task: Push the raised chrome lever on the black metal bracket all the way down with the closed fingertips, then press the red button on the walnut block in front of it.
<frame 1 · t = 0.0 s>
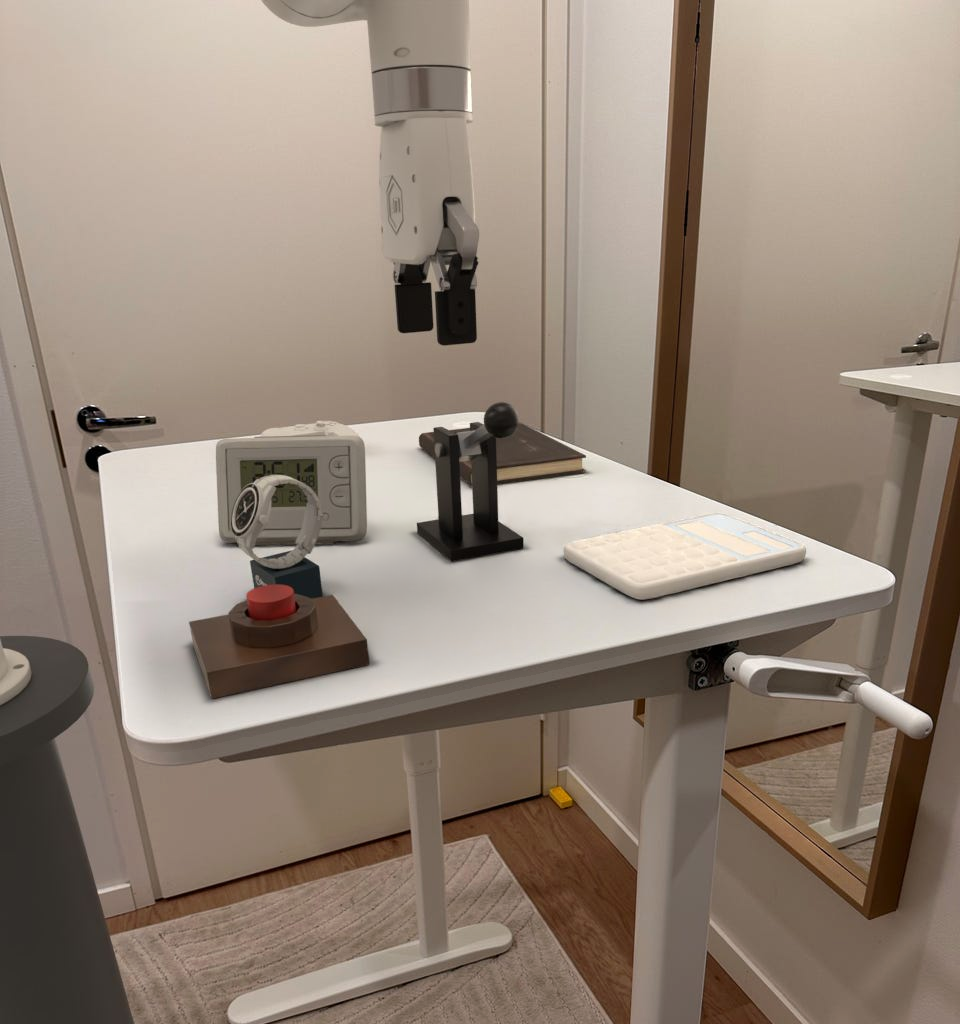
hand: (435, 337, 76), 22 cm above the table, tool pointing down, fingers open, 9 cm apart
button: (271, 603, 70), point 4 cm above the table, slide at 0.1 cm
watch: (288, 597, 83), on the table
hardcover book: (497, 461, 125), on the table
calculator: (682, 562, 88), on the table
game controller: (309, 457, 132), on the table
digital clock: (297, 539, 98), on the table
lever: (482, 433, 86), point 12 cm above the table, hinge at 25.0°
bracket: (468, 540, 95), on the table
button block: (278, 655, 72), on the table
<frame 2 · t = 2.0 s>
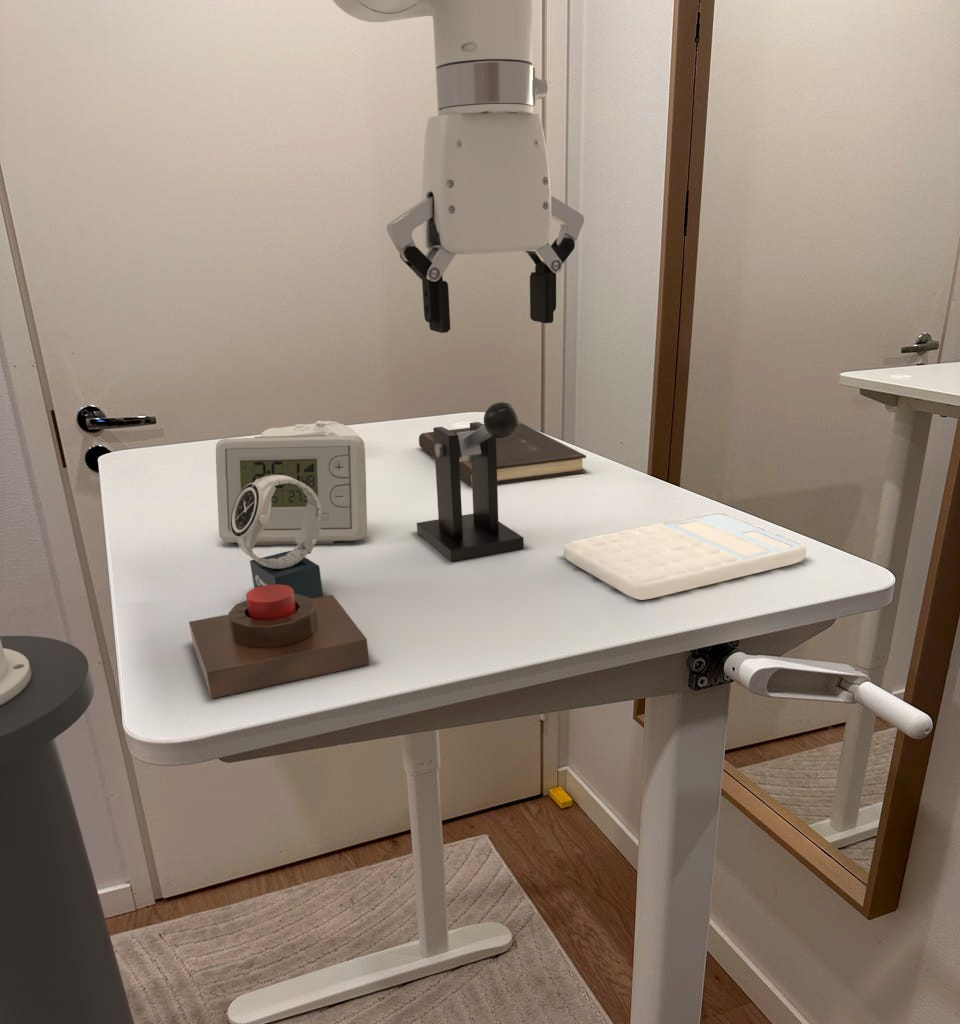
hand: (491, 326, 78), 22 cm above the table, tool pointing down, fingers open, 9 cm apart
nothing on the table moved.
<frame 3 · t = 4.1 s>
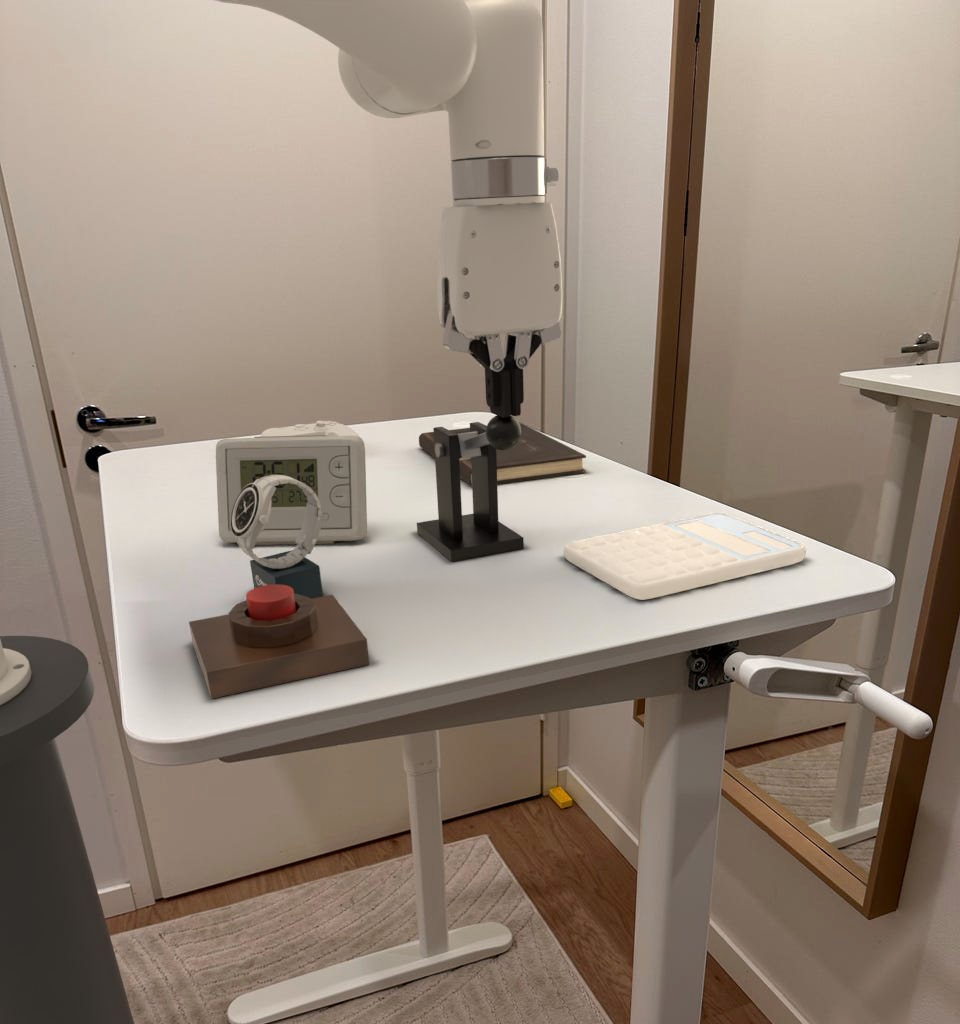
hand: (505, 413, 81), 15 cm above the table, tool pointing down, fingers closed
lever: (483, 439, 86), point 12 cm above the table, hinge at 18.8°, touching gripper
everything else where it was.
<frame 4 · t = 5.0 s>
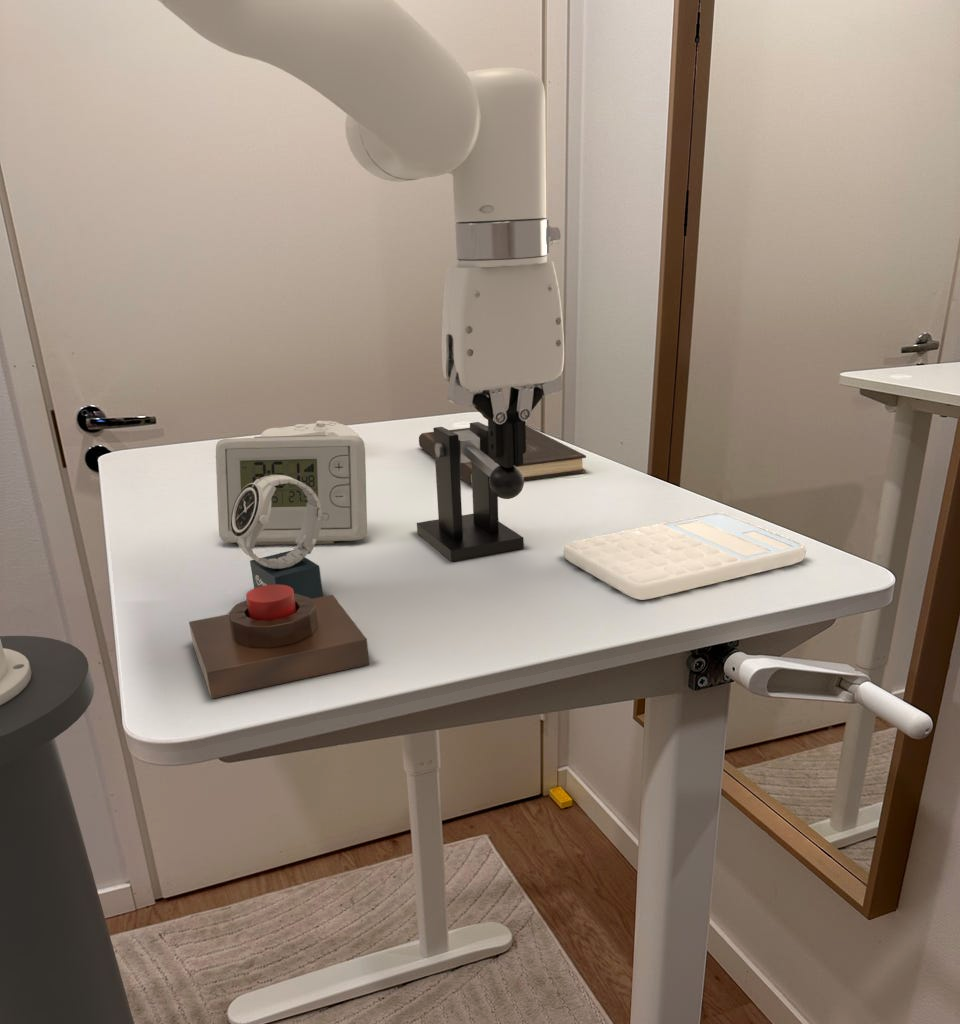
hand: (507, 463, 83), 10 cm above the table, tool pointing down, fingers closed
lever: (485, 463, 87), point 9 cm above the table, hinge at -7.0°, touching gripper
everything else where it was.
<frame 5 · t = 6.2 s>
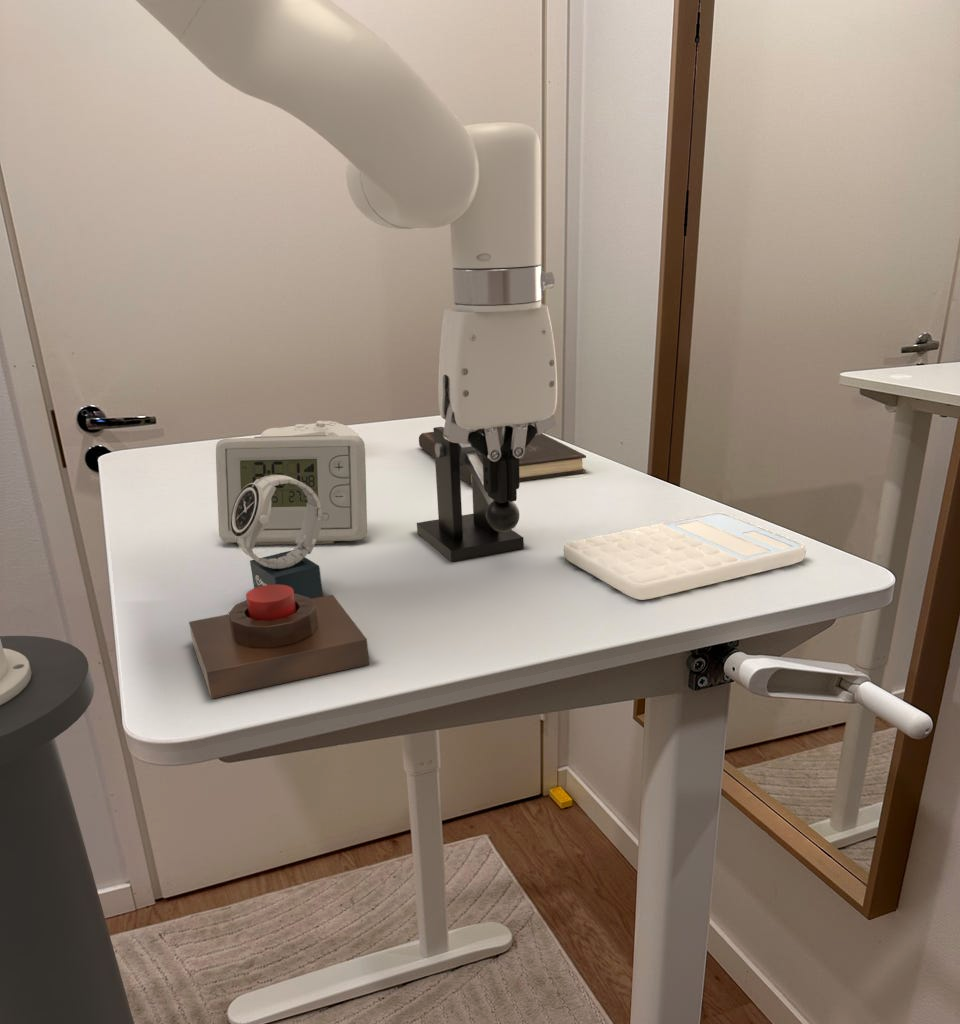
hand: (501, 498, 85), 7 cm above the table, tool pointing down, fingers closed
lever: (483, 480, 88), point 8 cm above the table, hinge at -28.4°
everything else where it was.
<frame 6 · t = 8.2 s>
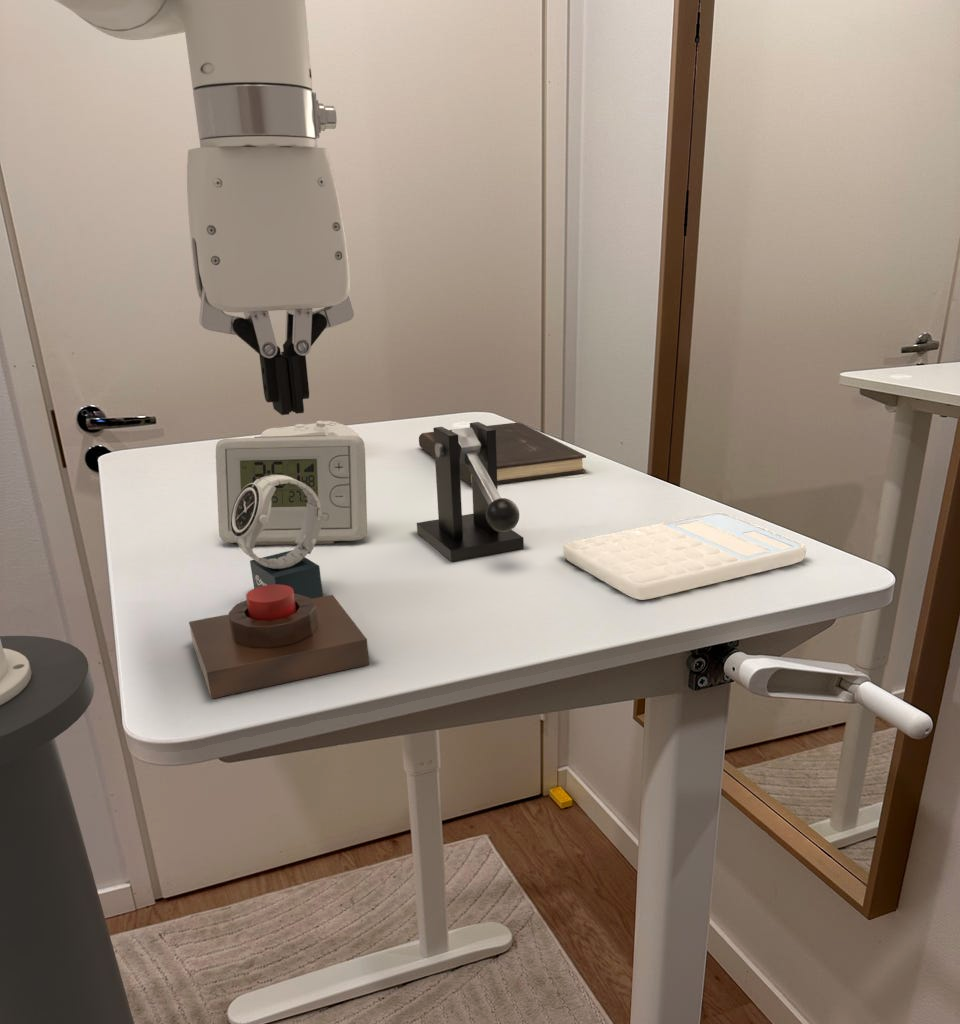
hand: (288, 410, 66), 19 cm above the table, tool pointing down, fingers closed
nothing on the table moved.
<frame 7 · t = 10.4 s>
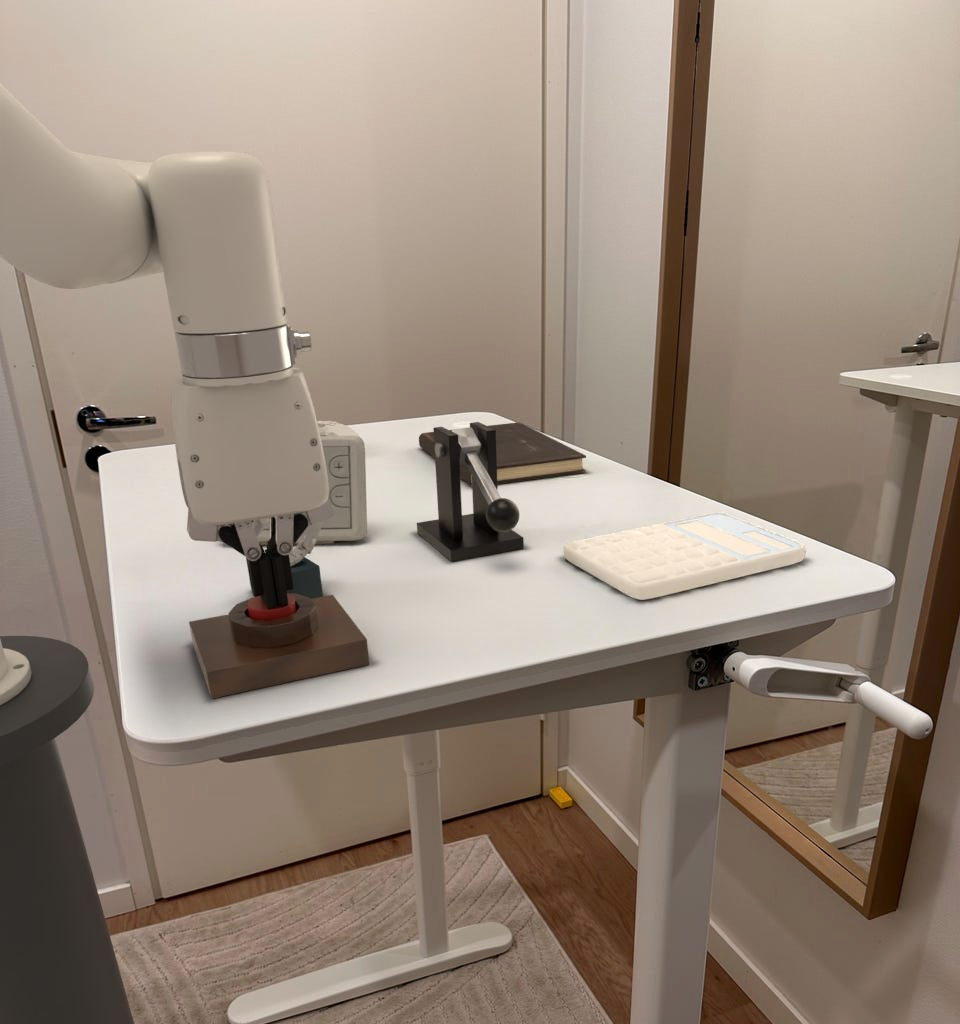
hand: (274, 600, 70), 5 cm above the table, tool pointing down, fingers closed
button: (272, 611, 70), point 4 cm above the table, slide at -0.6 cm, touching gripper
everything else where it was.
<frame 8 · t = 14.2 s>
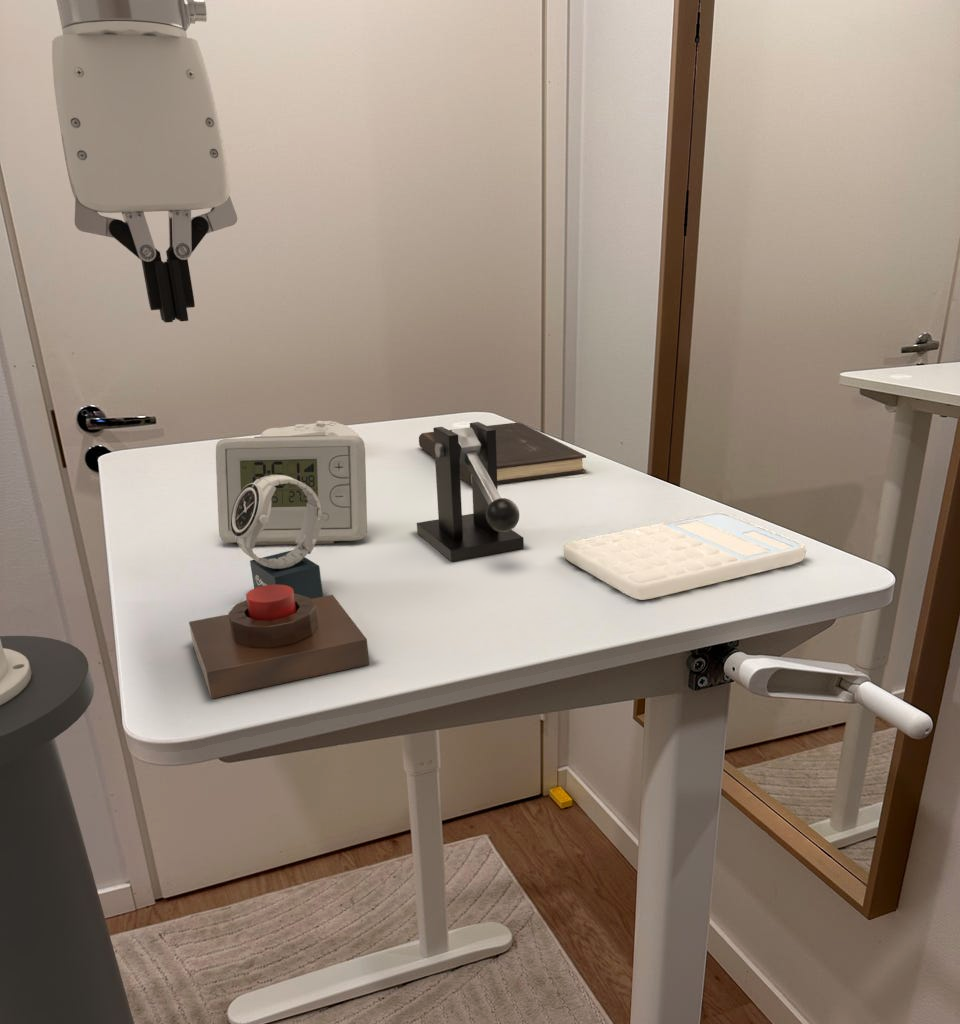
hand: (174, 319, 65), 25 cm above the table, tool pointing down, fingers closed
button: (271, 603, 70), point 4 cm above the table, slide at 0.1 cm
everything else where it was.
at the end: lever at -28° (first picture: +25°); button pushed in 1.1 cm at the most during the clip, back to where it started at the end; button slide at 0.1 cm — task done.
